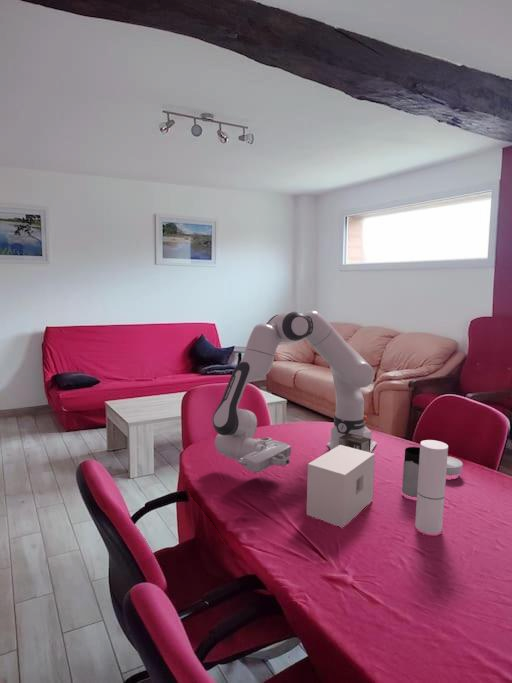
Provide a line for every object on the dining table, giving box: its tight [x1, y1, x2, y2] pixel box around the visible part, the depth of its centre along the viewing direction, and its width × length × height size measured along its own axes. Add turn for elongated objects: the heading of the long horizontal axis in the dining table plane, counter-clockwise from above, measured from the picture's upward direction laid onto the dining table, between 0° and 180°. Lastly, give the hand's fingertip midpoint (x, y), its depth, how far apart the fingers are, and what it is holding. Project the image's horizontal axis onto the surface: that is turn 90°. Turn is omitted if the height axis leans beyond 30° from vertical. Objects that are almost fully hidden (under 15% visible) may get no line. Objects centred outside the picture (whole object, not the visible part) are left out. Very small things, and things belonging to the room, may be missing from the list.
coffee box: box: [339, 433, 372, 452], centre depth 158 cm, size 9×6×16 cm
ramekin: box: [446, 456, 464, 476], centre depth 166 cm, size 11×11×5 cm
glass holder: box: [401, 446, 420, 497], centre depth 152 cm, size 9×14×15 cm, turn 137°
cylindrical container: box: [414, 439, 449, 534], centre depth 129 cm, size 7×7×25 cm
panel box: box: [306, 445, 376, 528], centre depth 140 cm, size 20×12×16 cm, turn 142°
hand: (287, 462), depth 152 cm, fingers closed
